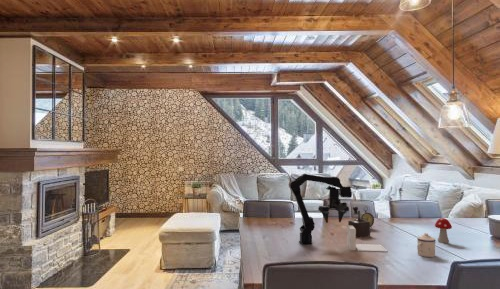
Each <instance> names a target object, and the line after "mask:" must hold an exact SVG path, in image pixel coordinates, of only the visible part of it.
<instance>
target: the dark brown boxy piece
mask: <svg viewBox="0 0 500 289" xmlns="http://www.w3.org/2000/svg"><path fill="white" fill-rule="evenodd" d="M352 211H353V213H352V215H355V216H356V215H357V216H358V217H357V218H355V219H351V220H348V221H347V222H348V225H350V226H353V227H354V228H355V229H356V238H366V237H371V227H370V222H368V221H366V220H364V219H363V218H360V214H361V211H360V210H359V207H358V206H353V207H352Z"/></svg>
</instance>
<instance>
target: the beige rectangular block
mask: <svg viewBox="0 0 500 289" xmlns="http://www.w3.org/2000/svg"><path fill="white" fill-rule="evenodd" d="M346 229H347V230H346V231H347V233H346V234H347V242H346V243H347V244H346V246H347V247H348V249H349V250H350V251H356V250H357V249H356V244H357V240H356V239H357V237H356V229H355V228H354V227H353V226H350V225H347V228H346Z"/></svg>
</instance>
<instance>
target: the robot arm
mask: <svg viewBox="0 0 500 289" xmlns="http://www.w3.org/2000/svg"><path fill="white" fill-rule="evenodd" d="M306 181H310V182H315V183H316V182H317V183H322V184H326V185H328V186H327V187H326V188H325V189H326V190H328V191H329V194H328V195H329V197H328V198H327V200H328V205H327V206H325V205H319V206H318V211H319V212H320V213H321V214H322V215H323V217H324V221H325V223H327V224H328V223H329V214H330V212H329V211H337V214H338V223H342V220H343V217H344V215H345V214H346V213H348V212H349V211H350V208H349V206H348V205H347V204H348V203H347V202H345V201H344V202H341V199H340V197H341V198H352V196H353V192H352V188H351V186H349V185H348V186H343V185H342V183H341V179H340V178H339V177H337V176H320V175H316V174H314V175H313V174H309V173H302V174H301V175H299V176H298V177H296V178H295V179H294V180H289V182H288V188H289V189H290V192H291V193H292V194H293V195H294V197H295V201H296V204H297V208H298V209H299V212H300V214H301V220H302V225H301V226H300V227H299V240H298V243H300V244H301V245H312V244H313V235H312V232H313V231H314V230H315V225H316V223H315V222H314V218H313V217H312V216H310V215H309V214H308V210H307V208H306V205H305V203H304V199H303V196H302V194H301V186H302V185H303V184H304V183H305V182H306Z"/></svg>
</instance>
